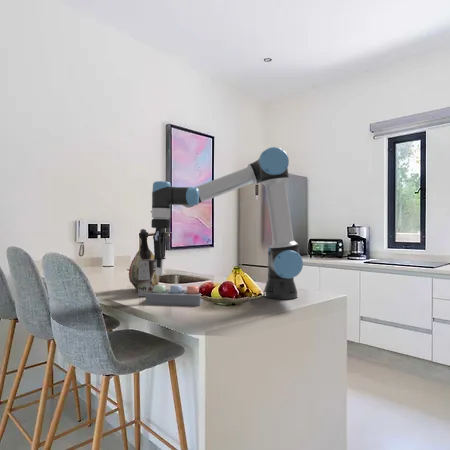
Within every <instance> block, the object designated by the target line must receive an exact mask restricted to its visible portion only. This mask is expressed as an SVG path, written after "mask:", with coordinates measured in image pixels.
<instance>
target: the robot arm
mask: <svg viewBox="0 0 450 450" xmlns="http://www.w3.org/2000/svg"><path fill="white" fill-rule="evenodd" d="M289 164H290V160H289V156H288V154H287V152H286V151H285V150H284V149H282V148H280V147H276V146H271V147H268V148H267V149H265V150H263V151H262V153H261V154H260V155H259V158H258V159H257V160H255V161H253V162H252V163H248V165H247V167H245V168H242V169H239V170H236V171H234V172H232V173H229V174H226V175H224V176H221V177H218V178H216V179H213V180H210V181H208V182H205V183H202V184H199V185H198V186H195V187H193V186H188V187H187V186H185V187H184V186H183V187H182V186H179V187H178V186H172V185H171V182H169V181H164V180H163V181H162V180H161V181H160V180H157V181H154V182H153V183H152V192H151V211H150V213H151V218H152V219H151V229H152V228H153V229H155V231H154V235H153V236H152V239H153V255H154V260H156V275H161V276H163V275H164V260H166V249H167V248H166V247H167V239H168V235H167V232H166V229H170V227H171V226H170V224H171V220H170V219H171V205H172V206H182V207H185V208H192V207H194V206H198V205H199V204H201V203H204V202H206V201H209V200H211V199H214V198H217V197H219V196H222V195H225V194H227V193H229V192H233V191H235V190H237V189H240V188H244V187H246V186H249V185H250V184H251V185H252V184H254V185H257V184H260V183H261V184H262V185H264V187H265V192H266V201H267V208H268V215H269V221H270V222H269V223H270V229H271V236H272V244H271V245H270V246H269V247H268V248H267V254H268V255H267V280H266V284H265V286H264V291H263V293H264V292H266V296H264V297H265V298H267V299H274V300H293V299H292V298H294V299H297V298H298V290H297V286H296V283H295V280H294V278H295V277H297V276H298V275H300V273H302V271H303V265H304V263H303V258H302V256H301V254H300V248H299V243H298V242H296V240H295V239H294V233H293V225H292V219H291V218H292V217H291V211H290V210H291V209H290V204H289V198H288V197H289V196H288V189H287V182H288V181H289V179H290V176H289V168H288V167H289ZM296 297H297V298H296Z"/></svg>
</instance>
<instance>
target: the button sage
mask: <svg viewBox="0 0 450 450" xmlns="http://www.w3.org/2000/svg"><path fill="white" fill-rule="evenodd" d="M166 289H167V286H166V285H165V284H158V285H154V293H166Z"/></svg>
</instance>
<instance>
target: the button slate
mask: <svg viewBox="0 0 450 450" xmlns="http://www.w3.org/2000/svg"><path fill="white" fill-rule="evenodd" d="M182 290H183V286H182V285H181V284H173V285H170V293H176V294H182Z"/></svg>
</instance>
